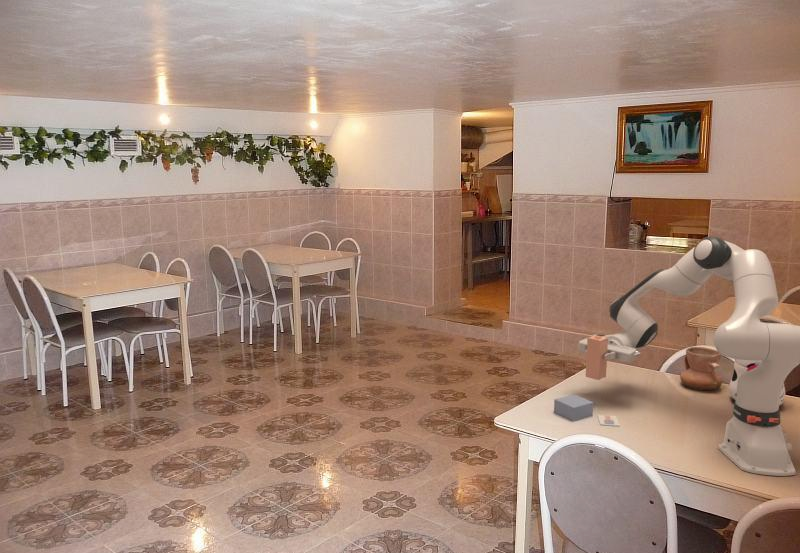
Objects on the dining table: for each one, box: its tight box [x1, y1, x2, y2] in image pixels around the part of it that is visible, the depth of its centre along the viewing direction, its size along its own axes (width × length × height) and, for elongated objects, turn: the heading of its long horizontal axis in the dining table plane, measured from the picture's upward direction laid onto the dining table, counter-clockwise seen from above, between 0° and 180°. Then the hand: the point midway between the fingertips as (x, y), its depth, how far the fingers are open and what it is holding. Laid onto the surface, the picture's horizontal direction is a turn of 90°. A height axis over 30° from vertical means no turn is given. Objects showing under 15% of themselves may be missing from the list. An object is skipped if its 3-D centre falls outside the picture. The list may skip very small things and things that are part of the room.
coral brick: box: [585, 334, 608, 381], centre depth 227 cm, size 5×5×14 cm
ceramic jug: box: [680, 346, 723, 391], centre depth 247 cm, size 18×14×14 cm
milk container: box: [728, 359, 786, 407], centre depth 230 cm, size 17×17×18 cm
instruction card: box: [597, 414, 621, 427], centre depth 216 cm, size 8×6×1 cm
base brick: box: [553, 394, 594, 422], centre depth 221 cm, size 9×9×5 cm
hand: (595, 355), depth 226 cm, fingers closed on coral brick, 5 cm apart
